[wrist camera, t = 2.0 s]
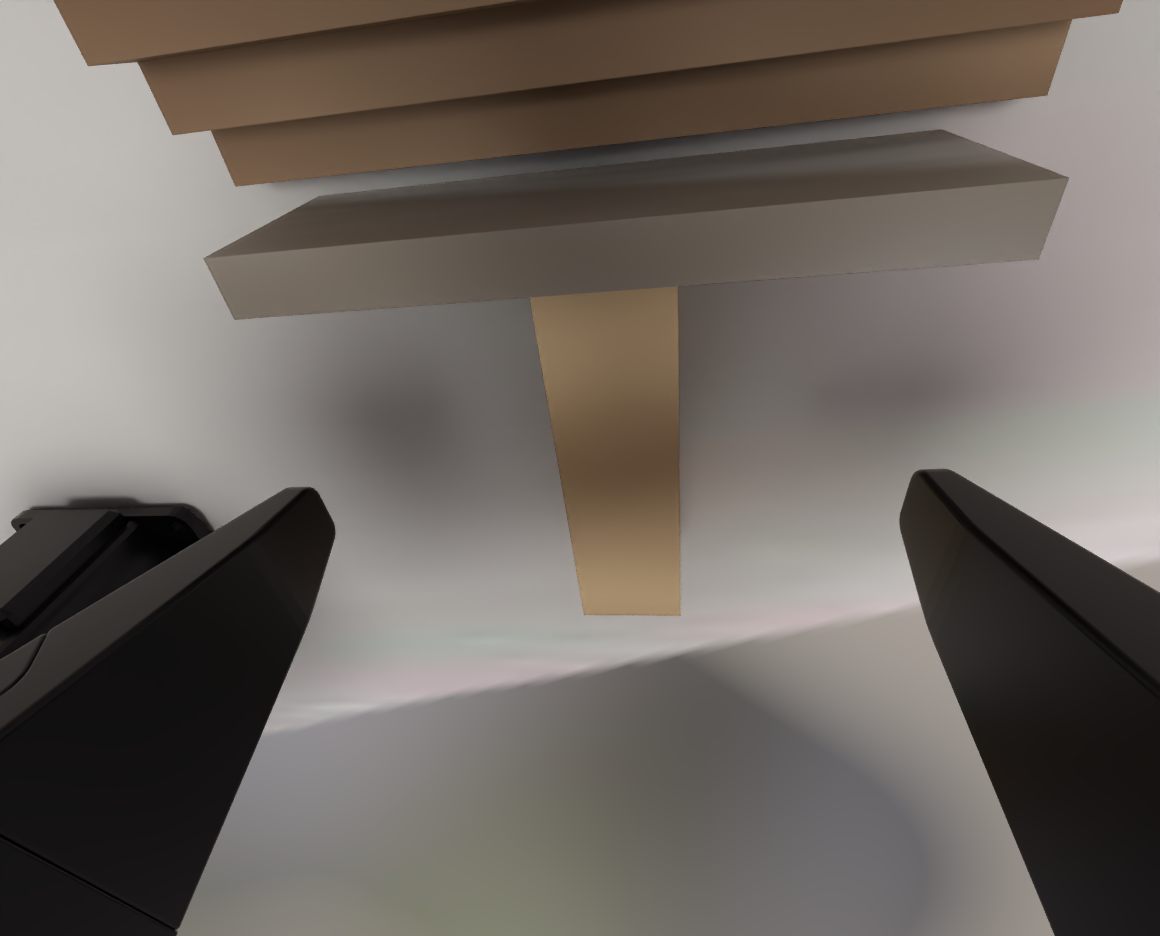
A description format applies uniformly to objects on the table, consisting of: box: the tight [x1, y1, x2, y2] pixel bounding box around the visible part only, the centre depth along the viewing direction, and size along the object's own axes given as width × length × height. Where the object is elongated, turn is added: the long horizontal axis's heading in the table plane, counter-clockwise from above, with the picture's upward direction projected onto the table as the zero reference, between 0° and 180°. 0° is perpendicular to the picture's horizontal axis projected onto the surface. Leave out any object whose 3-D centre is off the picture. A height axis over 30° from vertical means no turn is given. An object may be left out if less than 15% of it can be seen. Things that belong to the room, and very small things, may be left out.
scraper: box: [203, 130, 1069, 616], centre depth 13 cm, size 10×12×4 cm
